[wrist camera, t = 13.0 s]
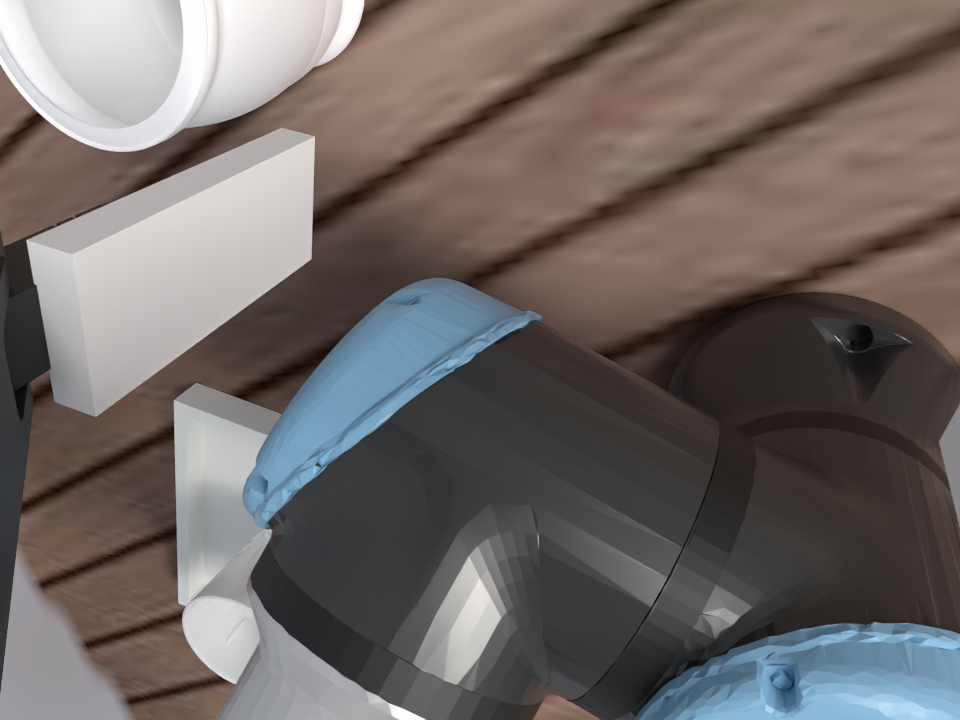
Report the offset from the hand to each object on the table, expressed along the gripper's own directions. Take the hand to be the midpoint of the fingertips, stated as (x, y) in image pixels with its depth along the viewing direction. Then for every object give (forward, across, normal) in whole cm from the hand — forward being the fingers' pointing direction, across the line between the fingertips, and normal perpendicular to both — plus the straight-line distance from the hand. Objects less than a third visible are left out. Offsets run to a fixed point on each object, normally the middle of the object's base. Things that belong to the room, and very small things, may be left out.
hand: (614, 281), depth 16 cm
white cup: (+24, +19, +38) cm, 49 cm away
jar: (+26, +22, 0) cm, 34 cm away
